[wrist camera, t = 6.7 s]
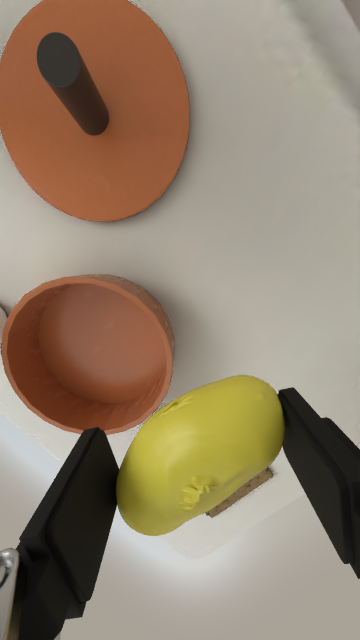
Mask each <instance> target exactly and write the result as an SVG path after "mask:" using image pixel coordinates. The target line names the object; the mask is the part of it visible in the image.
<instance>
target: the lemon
mask: <svg viewBox="0 0 360 640" xmlns="http://www.w3.org/2000/svg"><path fill="white" fill-rule="evenodd" d="M284 436H285V421H284V414H283V410H282V406H281V403H280V401H279V398H278V396H277V393H276V391H275V390H274V389H273V388H272V387H271V386H270V384H268V383H266V382H264V381H263V380H261V379H259V378H257V377H254V376H249V375H238V376H232V377H228V378H225V379H222V380H219V381H216V382H213V383H210V384H207V385H204V386H201V387H199V388H196V389H194V390H192V391H190V392H188V393H186V394H184V395H183V396H181V397H179V398H177V399H176V400H174V401H172V402H171V403H169V404H167V405H166V406H164V407H163V408H161V409H160V410H158V411H157V412H156V413H154V414H153V415H152V416H151V417H150V418H149V419H148V420H147V421H146V422H145V423H144V425H143V426H142V428H141V429H140V431H139V432H138V434H137V435H136V437H135V438H134V440H133V441H132V443H131V445H130V447H129V449H128V450H127V453H126V455H125V457H124V459H123V462H122V464H121V467H120V470H119V473H118V477H117V484H116V498H117V505H118V509H119V512H120V514H121V516H122V518H123V519H124V521H125V522H126V523H127V525H129V527H131V528H132V529H134V530H135V531H137V532H139V533H142V534H144V535H149V536H158V535H163V534H166V533H169V532H171V531H173V530H175V529H176V528H178V527H179V526H181V525H182V524H183V523H185V522H186V521H189V520H191V519H192V518H194V517H196V516H198V515H201V514H203V513H205V512H207V511H209V510H211V509H213V508H214V507H216V506H217V505H218V504H220V503H221V502H222V501H224V500H225V499H226V498H228V497H229V496H230V495H232V494H233V493H234V492H235V491H237V490H238V489H239V488H240V487H241V486H243V485H244V484H245V483H247V482H248V481H249V480H251V479H252V478H253V477H254V476H256V475H257V474H259V473H260V472H262V471H263V470H265V469H266V468H267V467H268V466H269V465H271V463H272V462H273V461H274V460H275V458H276V457H277V455H278V454H279V452H280V450H281V448H282V445H283V442H284Z"/></svg>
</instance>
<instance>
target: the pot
mask: <svg viewBox="0 0 360 640" xmlns="http://www.w3.org/2000/svg"><path fill="white" fill-rule="evenodd" d="M1 355H2V360H3V365H4V370H5V374H6V376H7V378H8V380H9V382H10V384H11V386H12V388H13V390H14V391H15V393H16V394H17V395H18V397H19V398H20V399H21V400H22V401H23V403H24V404H25V405H26V406H27V407H28V408H29V409H30V410H31V411H32V412H34V413H35V414H36V415H38V416H39V417H40V418H42V419H43V420H44V421H46V422H48V423H50V424H52V425H54V426H56V427H58V428H60V429H63V430H65V431H69V432H74V433H78V434H82V432H83V431H84V430H85V429H90V428H95V427H99V428H100V429H101V430H104V432H105V434H106V435H109V434H114V433H119V432H123V431H126V430H128V429H130V428H132V427H134V426H136V425H138V424H140V423H142V422H143V421H144V420H145V419H146V418H148V417H149V416H150V415H151V414H152V413H153V412H154V411H156V409H157V408H158V406H159V405H160V403H161V402H162V400H163V399H164V397H165V396H166V394H167V391H168V388H169V384H170V381H171V377H172V372H173V362H174V336H173V332H172V328H171V325H170V322H169V319H168V318H167V316H166V314H165V312H164V311H163V309H162V308H161V306H160V305H159V303H158V302H157V301H156V300H155V299H154V298H153V297H152V296H151V295H150V294H149V293H148V292H147V291H145V290H144V289H142V288H141V287H139V286H138V285H136V284H134V283H132V282H130V281H128V280H125V279H122V278H119V277H115V276H111V275H80V276H71V277H64V278H61V279H57V280H53V281H50V282H46V283H43V284H41V285H40V286H38V287H37V288H35V289H33V290H32V291H30V292H29V293H27V294H25V295H24V296H23V298H22V299H21V300H20V301H19V302H18V304H17V305H16V306H15V307H14V308H13V309H12V311H11V312H10V314H9V317H8V319H7V321H6V324H5V326H4V329H3V332H2V344H1Z"/></svg>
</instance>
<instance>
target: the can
mask: <svg viewBox="0 0 360 640" xmlns="http://www.w3.org/2000/svg"><path fill="white" fill-rule="evenodd" d="M7 319H8V318H7V315H6V313H5V312H4V310H3V309H2V308H1V307H0V344H1V343H2V332H3V329H4V326H5V324H6V321H7Z"/></svg>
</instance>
